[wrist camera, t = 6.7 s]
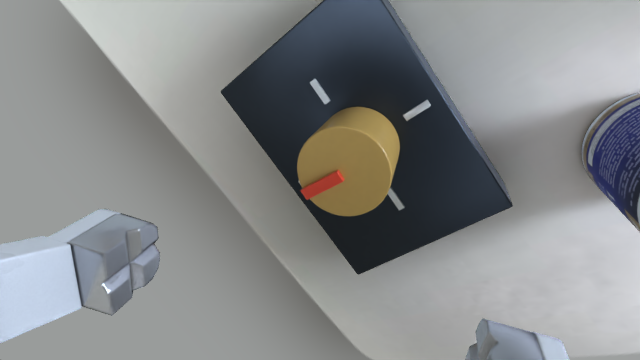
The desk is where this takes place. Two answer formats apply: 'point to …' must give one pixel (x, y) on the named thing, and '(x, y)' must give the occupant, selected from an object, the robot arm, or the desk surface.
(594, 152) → the pill bottle
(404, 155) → the plate
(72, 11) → the desk surface
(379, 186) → the lock knob
